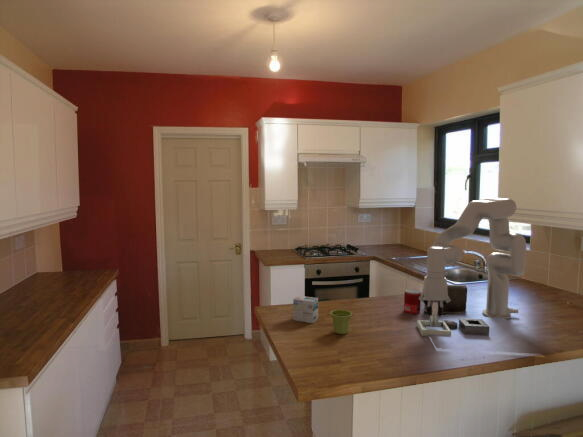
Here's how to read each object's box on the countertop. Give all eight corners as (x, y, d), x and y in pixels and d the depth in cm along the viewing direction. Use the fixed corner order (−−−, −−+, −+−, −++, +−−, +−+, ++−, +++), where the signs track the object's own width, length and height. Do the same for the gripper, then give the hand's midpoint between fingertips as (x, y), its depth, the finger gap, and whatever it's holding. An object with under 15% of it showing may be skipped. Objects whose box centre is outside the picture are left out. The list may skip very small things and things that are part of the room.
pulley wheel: (454, 325, 186) (455, 319, 185) (459, 331, 179) (459, 324, 178) (439, 324, 186) (439, 318, 186) (443, 330, 180) (443, 323, 179)
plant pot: (326, 329, 180) (326, 311, 179) (344, 326, 184) (344, 308, 183) (336, 337, 172) (337, 317, 171) (355, 334, 175) (355, 314, 175)
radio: (464, 308, 210) (465, 281, 208) (473, 314, 201) (474, 285, 200) (421, 309, 208) (422, 281, 207) (427, 315, 200) (428, 286, 198)
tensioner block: (481, 330, 180) (482, 319, 180) (488, 337, 171) (489, 326, 171) (458, 328, 182) (459, 318, 181) (464, 336, 173) (464, 325, 172)
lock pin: (437, 323, 180) (438, 299, 179) (438, 326, 176) (439, 302, 175) (428, 323, 180) (429, 299, 179) (430, 326, 177) (431, 302, 176)
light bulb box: (318, 319, 194) (318, 297, 193) (313, 323, 188) (313, 301, 187) (298, 316, 198) (298, 294, 197) (292, 320, 192) (292, 298, 191)
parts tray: (444, 327, 184) (444, 321, 183) (450, 337, 172) (451, 331, 172) (417, 325, 185) (417, 320, 185) (422, 335, 173) (422, 329, 173)
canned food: (420, 314, 200) (421, 293, 199) (404, 313, 202) (405, 292, 201) (419, 309, 208) (420, 289, 207) (403, 308, 209) (404, 288, 208)
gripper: (452, 273, 179) (451, 313, 181) (414, 272, 181) (413, 311, 183) (457, 277, 171) (455, 318, 173) (417, 276, 173) (416, 317, 175)
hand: (434, 314), depth 178 cm, fingers closed on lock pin, 3 cm apart
